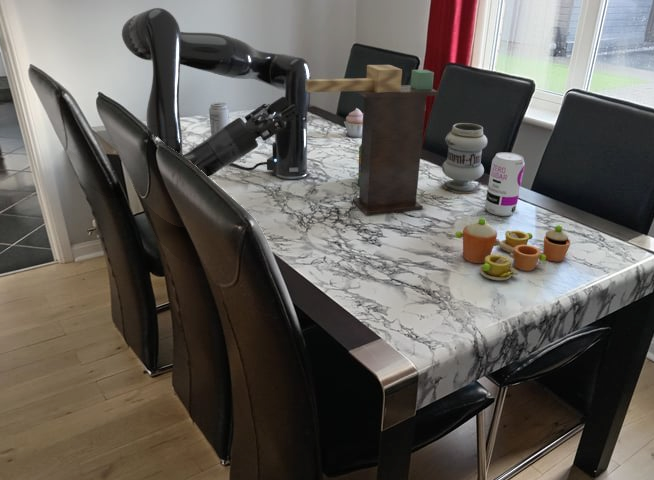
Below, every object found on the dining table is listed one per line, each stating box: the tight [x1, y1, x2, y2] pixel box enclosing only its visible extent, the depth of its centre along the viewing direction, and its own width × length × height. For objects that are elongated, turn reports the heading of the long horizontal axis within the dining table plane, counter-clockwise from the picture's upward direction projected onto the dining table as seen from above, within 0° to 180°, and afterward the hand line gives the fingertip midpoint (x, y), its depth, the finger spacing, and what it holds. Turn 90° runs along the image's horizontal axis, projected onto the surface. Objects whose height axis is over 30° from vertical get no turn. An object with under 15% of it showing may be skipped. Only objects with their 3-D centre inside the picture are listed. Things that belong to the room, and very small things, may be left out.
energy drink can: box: [208, 102, 231, 136], centre depth 185 cm, size 6×6×15 cm
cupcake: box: [343, 107, 363, 138], centre depth 212 cm, size 9×9×10 cm
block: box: [410, 69, 435, 90], centre depth 141 cm, size 4×4×4 cm
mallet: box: [305, 64, 403, 93], centre depth 134 cm, size 22×7×5 cm, turn 113°
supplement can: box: [484, 151, 526, 217], centre depth 151 cm, size 8×8×15 cm
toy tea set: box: [455, 217, 572, 281], centre depth 127 cm, size 26×16×10 cm, turn 122°
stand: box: [352, 84, 439, 216], centre depth 147 cm, size 19×10×30 cm, turn 113°
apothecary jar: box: [441, 122, 488, 194], centre depth 165 cm, size 12×12×18 cm
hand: (291, 104), depth 131 cm, fingers open, 8 cm apart
